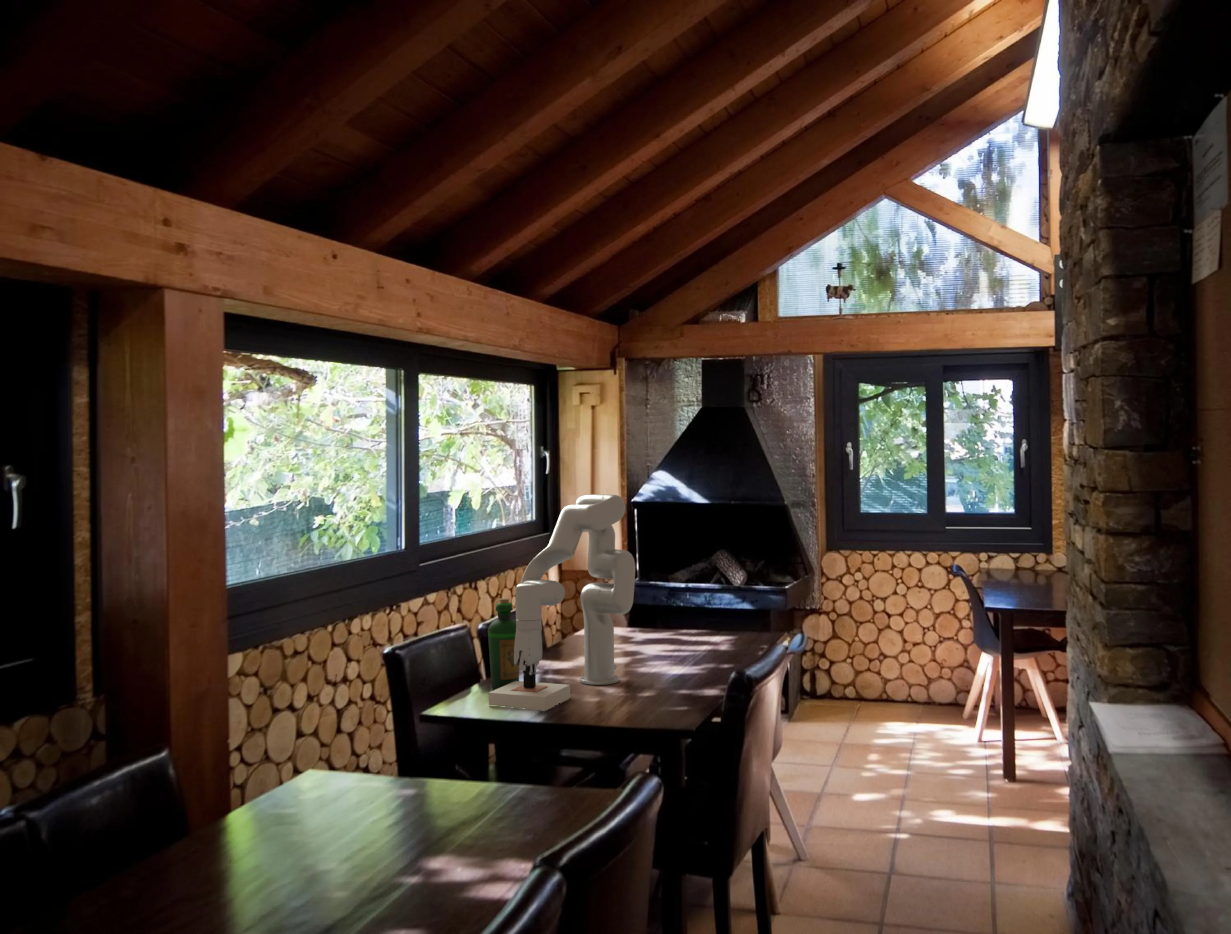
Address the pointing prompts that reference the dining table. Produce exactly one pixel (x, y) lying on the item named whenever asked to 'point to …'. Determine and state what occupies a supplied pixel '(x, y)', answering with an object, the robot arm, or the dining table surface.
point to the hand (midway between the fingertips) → (529, 687)
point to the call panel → (530, 696)
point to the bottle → (502, 646)
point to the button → (534, 690)
